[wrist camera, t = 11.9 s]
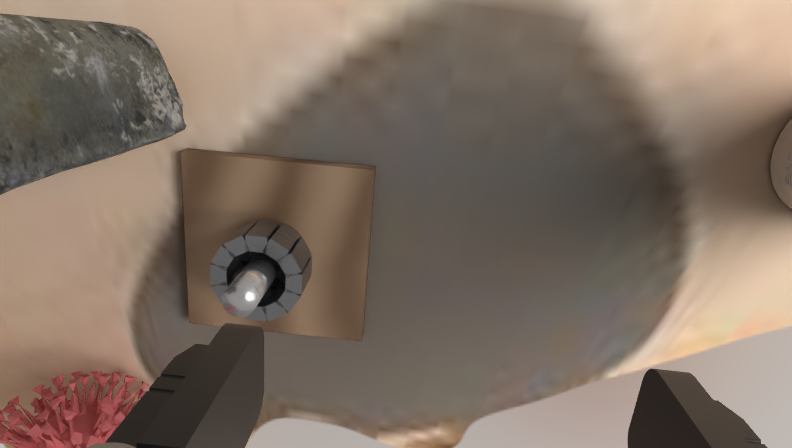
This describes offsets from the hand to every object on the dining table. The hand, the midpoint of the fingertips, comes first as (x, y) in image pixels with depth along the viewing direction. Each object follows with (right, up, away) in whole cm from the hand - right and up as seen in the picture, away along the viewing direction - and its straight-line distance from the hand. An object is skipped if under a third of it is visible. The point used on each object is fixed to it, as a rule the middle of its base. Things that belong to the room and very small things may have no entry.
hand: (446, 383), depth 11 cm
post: (-10, +1, +29) cm, 30 cm away
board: (-10, +2, +30) cm, 31 cm away
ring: (-10, +1, +27) cm, 29 cm away
